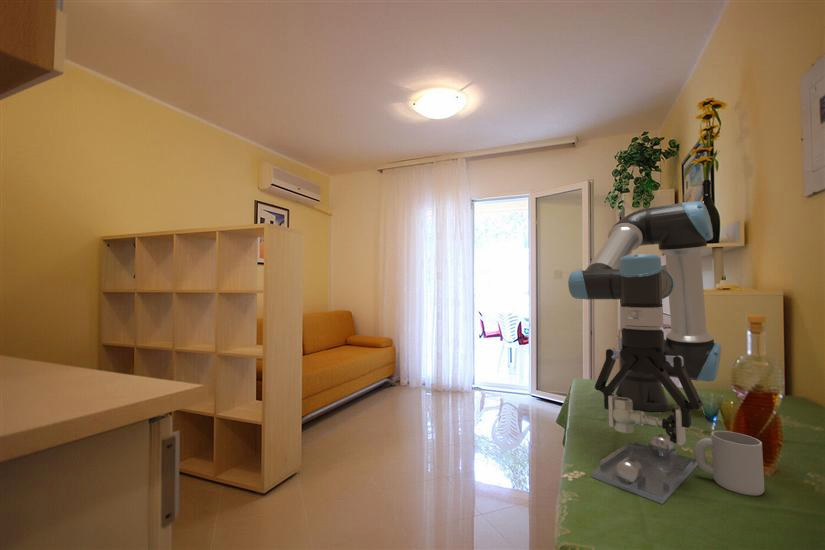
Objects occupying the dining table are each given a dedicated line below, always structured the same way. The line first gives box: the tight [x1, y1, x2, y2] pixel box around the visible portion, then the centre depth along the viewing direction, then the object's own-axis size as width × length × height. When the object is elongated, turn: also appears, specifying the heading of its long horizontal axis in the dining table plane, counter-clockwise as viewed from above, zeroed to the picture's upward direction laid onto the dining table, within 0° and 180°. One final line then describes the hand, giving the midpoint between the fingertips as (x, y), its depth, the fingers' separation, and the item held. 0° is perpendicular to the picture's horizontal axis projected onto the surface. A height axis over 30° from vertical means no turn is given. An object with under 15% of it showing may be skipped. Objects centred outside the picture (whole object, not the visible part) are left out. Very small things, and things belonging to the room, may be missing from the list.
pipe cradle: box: [590, 433, 699, 505], centre depth 74 cm, size 23×12×5 cm, turn 130°
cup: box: [693, 430, 765, 497], centre depth 69 cm, size 7×10×9 cm
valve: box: [613, 397, 678, 445], centre depth 75 cm, size 7×7×12 cm
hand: (645, 433), depth 74 cm, fingers closed on valve, 12 cm apart
